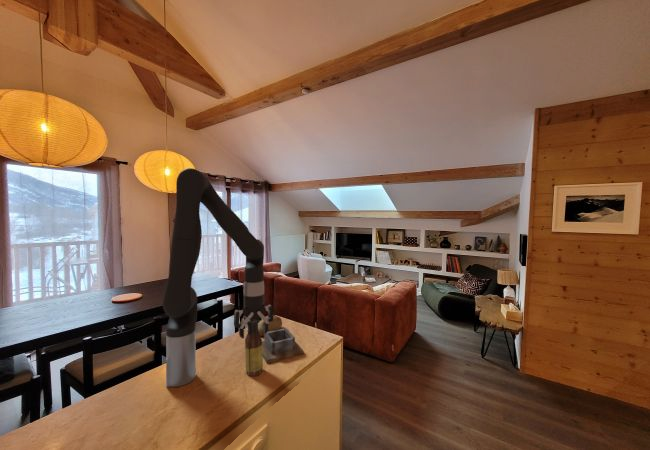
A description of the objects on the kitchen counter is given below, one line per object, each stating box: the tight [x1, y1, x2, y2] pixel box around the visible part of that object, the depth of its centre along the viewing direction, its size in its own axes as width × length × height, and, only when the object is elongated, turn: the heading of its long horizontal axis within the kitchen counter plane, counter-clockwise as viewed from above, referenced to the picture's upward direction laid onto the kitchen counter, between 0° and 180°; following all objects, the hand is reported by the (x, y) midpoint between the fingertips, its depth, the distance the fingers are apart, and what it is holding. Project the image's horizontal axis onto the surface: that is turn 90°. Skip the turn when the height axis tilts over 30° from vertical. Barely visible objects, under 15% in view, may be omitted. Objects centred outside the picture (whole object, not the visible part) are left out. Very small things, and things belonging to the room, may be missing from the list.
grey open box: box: [262, 328, 304, 364], centre depth 116 cm, size 16×16×6 cm
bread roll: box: [258, 314, 283, 337], centre depth 134 cm, size 10×15×8 cm, turn 145°
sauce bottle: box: [244, 319, 264, 377], centre depth 99 cm, size 7×6×20 cm
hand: (254, 335), depth 99 cm, fingers open, 8 cm apart
